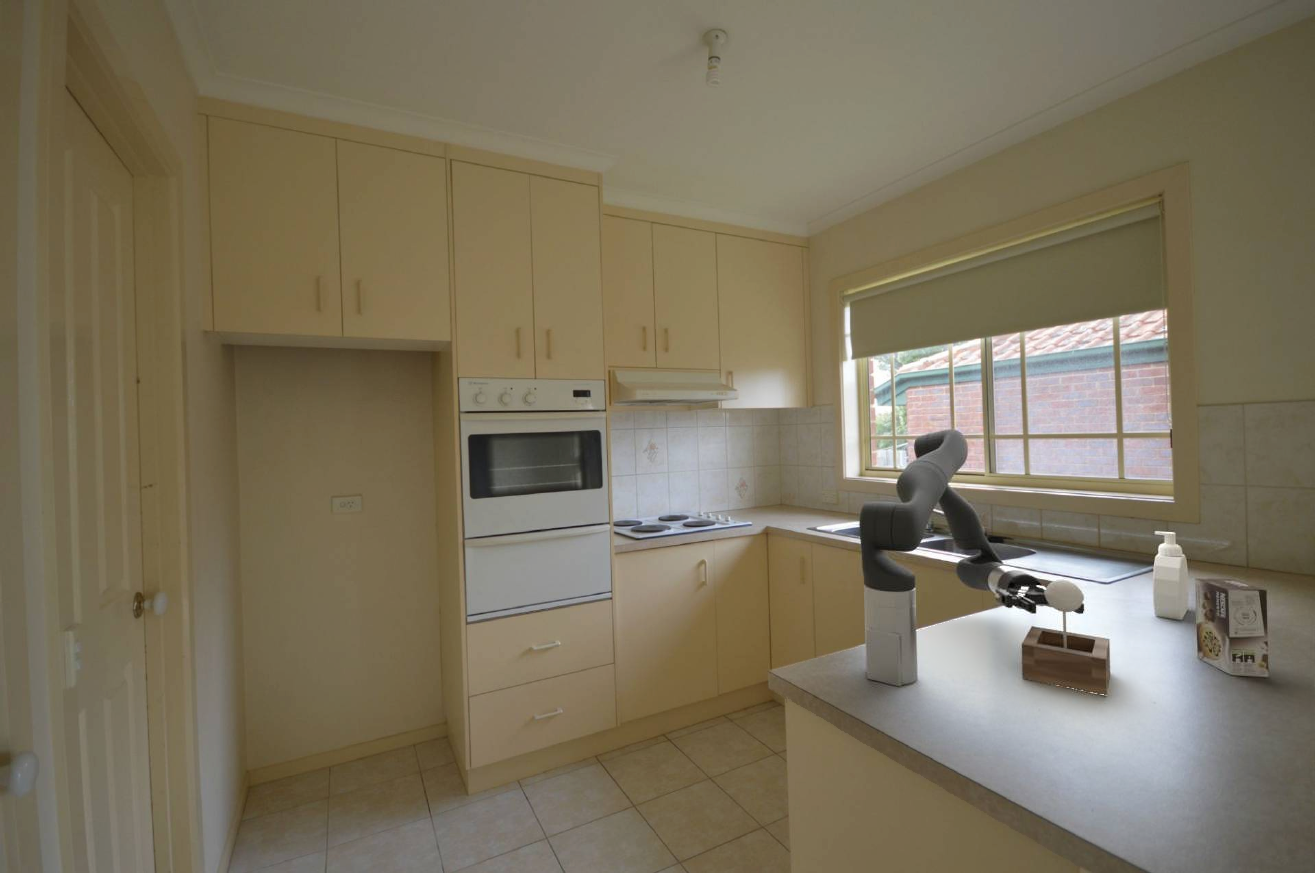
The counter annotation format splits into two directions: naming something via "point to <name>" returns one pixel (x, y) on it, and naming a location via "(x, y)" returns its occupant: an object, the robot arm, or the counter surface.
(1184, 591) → the soap bottle
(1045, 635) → the base
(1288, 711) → the counter surface
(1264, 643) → the coffee box
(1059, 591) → the lollipop
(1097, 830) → the counter surface
